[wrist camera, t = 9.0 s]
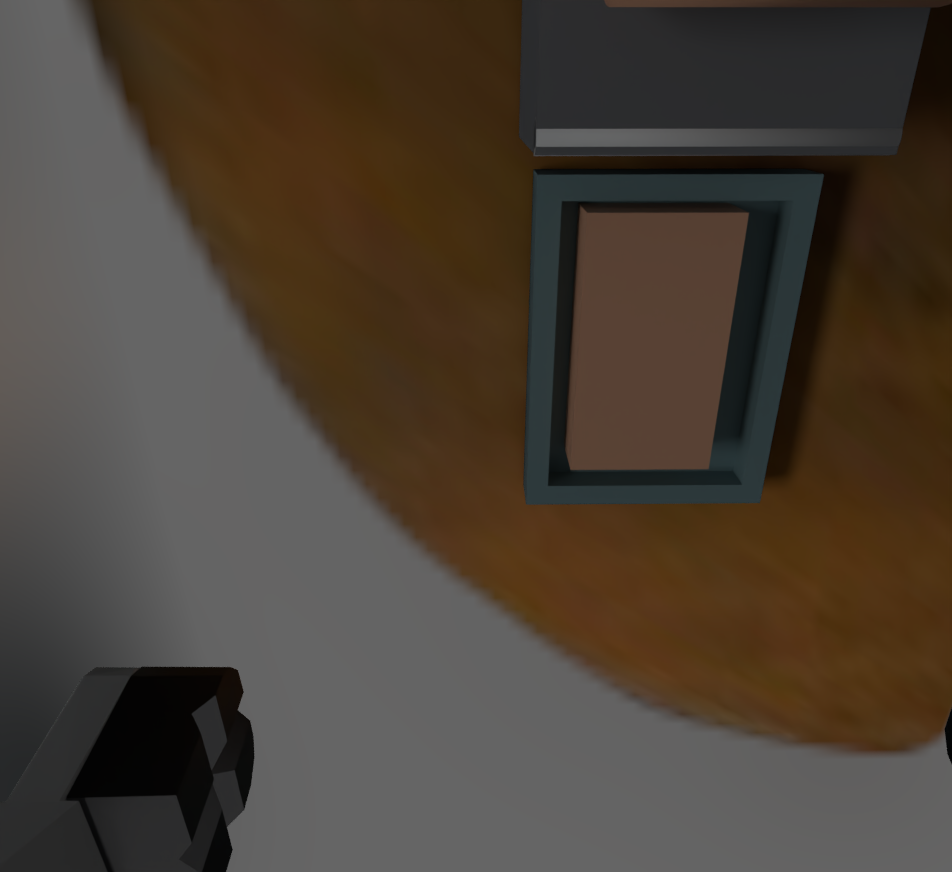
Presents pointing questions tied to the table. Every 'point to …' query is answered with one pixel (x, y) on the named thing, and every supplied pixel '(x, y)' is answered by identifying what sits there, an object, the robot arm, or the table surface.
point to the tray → (750, 342)
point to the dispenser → (718, 76)
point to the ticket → (650, 332)
